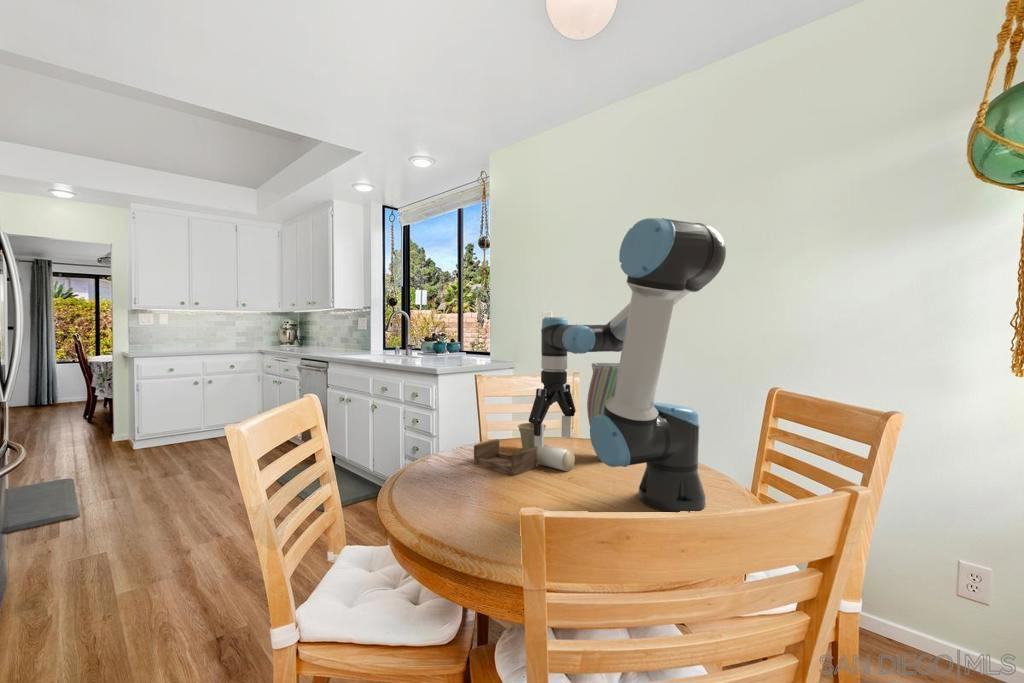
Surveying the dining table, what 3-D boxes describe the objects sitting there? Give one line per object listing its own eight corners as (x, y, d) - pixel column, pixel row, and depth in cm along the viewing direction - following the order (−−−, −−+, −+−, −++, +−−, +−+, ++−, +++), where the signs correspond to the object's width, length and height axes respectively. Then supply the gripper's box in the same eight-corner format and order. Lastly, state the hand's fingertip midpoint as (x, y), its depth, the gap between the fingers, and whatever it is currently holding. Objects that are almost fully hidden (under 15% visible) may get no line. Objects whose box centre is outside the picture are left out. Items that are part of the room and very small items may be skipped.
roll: (573, 471, 135) (576, 450, 136) (562, 471, 131) (564, 449, 131) (545, 464, 142) (548, 444, 142) (534, 464, 137) (537, 443, 138)
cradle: (536, 467, 136) (536, 448, 136) (514, 476, 129) (514, 455, 129) (496, 457, 147) (496, 439, 147) (474, 464, 139) (474, 445, 139)
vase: (583, 453, 152) (584, 361, 150) (625, 453, 151) (626, 362, 150) (589, 466, 138) (589, 365, 137) (634, 466, 137) (636, 366, 136)
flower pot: (514, 448, 157) (514, 423, 157) (539, 446, 160) (540, 421, 160) (522, 456, 148) (522, 429, 148) (550, 453, 151) (550, 427, 151)
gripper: (567, 365, 147) (566, 431, 148) (516, 372, 128) (515, 448, 129) (587, 367, 142) (586, 435, 143) (538, 375, 123) (537, 453, 124)
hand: (552, 441), depth 136 cm, fingers open, 13 cm apart
